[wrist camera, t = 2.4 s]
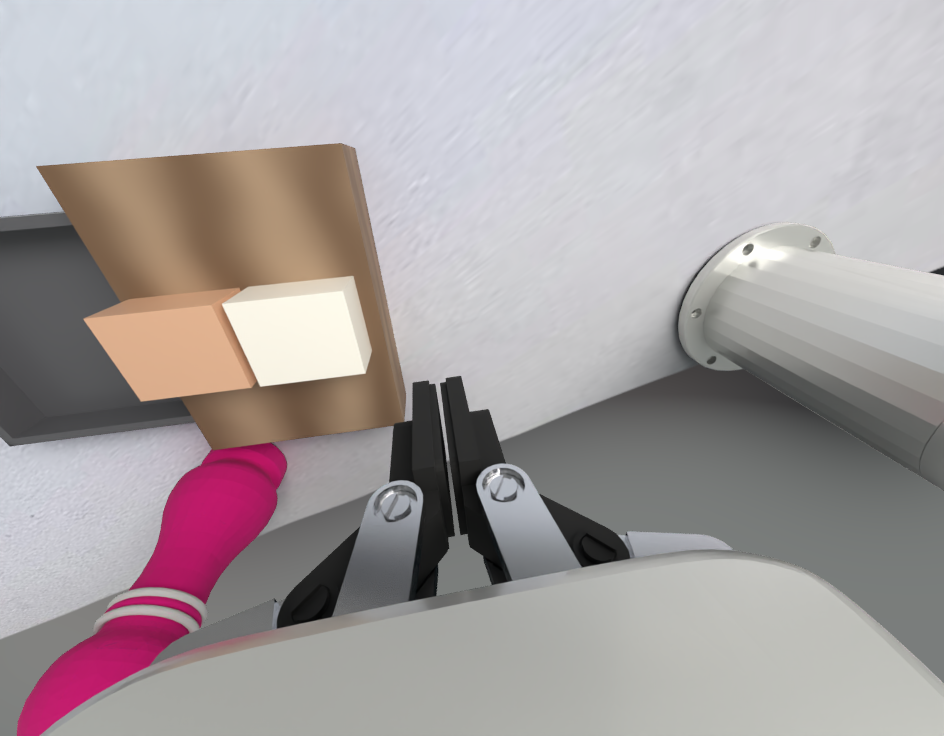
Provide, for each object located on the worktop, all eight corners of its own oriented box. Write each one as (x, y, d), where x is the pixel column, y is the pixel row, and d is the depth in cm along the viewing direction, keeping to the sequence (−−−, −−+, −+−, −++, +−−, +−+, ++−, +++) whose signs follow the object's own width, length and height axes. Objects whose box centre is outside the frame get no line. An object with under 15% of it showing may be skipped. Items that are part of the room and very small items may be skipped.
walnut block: (354, 148, 20) (341, 143, 17) (406, 394, 29) (404, 424, 26) (105, 167, 19) (36, 166, 16) (238, 416, 28) (213, 450, 25)
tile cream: (353, 275, 20) (343, 291, 17) (371, 350, 23) (365, 373, 20) (248, 286, 20) (221, 303, 17) (279, 361, 22) (260, 386, 20)
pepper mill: (287, 431, 30) (102, 786, 12) (297, 488, 33) (162, 827, 16) (195, 429, 28) (-153, 821, 11) (215, 489, 32) (-28, 858, 15)
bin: (120, 206, 20) (76, 211, 18) (224, 397, 27) (203, 421, 25) (-123, 227, 19) (-207, 235, 17) (50, 419, 26) (10, 446, 24)
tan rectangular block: (239, 287, 20) (211, 305, 17) (271, 362, 22) (251, 387, 19) (128, 299, 19) (82, 318, 17) (174, 374, 22) (140, 401, 19)
